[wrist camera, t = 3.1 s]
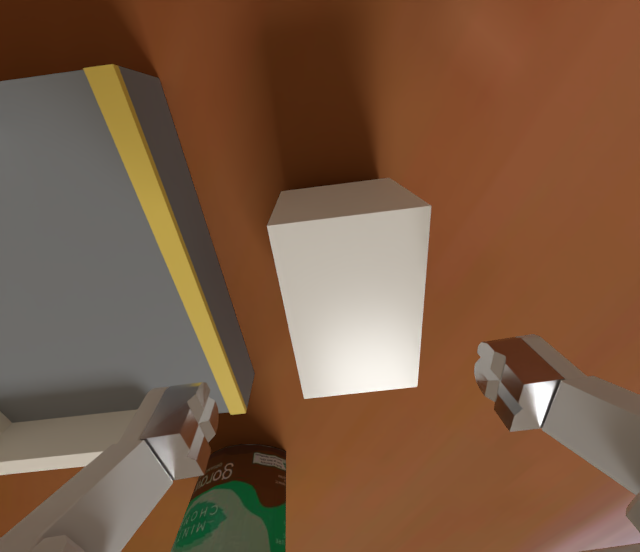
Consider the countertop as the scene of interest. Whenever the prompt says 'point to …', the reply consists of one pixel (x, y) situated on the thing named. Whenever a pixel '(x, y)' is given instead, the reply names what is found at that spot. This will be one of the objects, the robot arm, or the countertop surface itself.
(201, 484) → the food container
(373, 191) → the white box on plinth
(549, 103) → the countertop surface
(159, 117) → the dock
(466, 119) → the countertop surface
